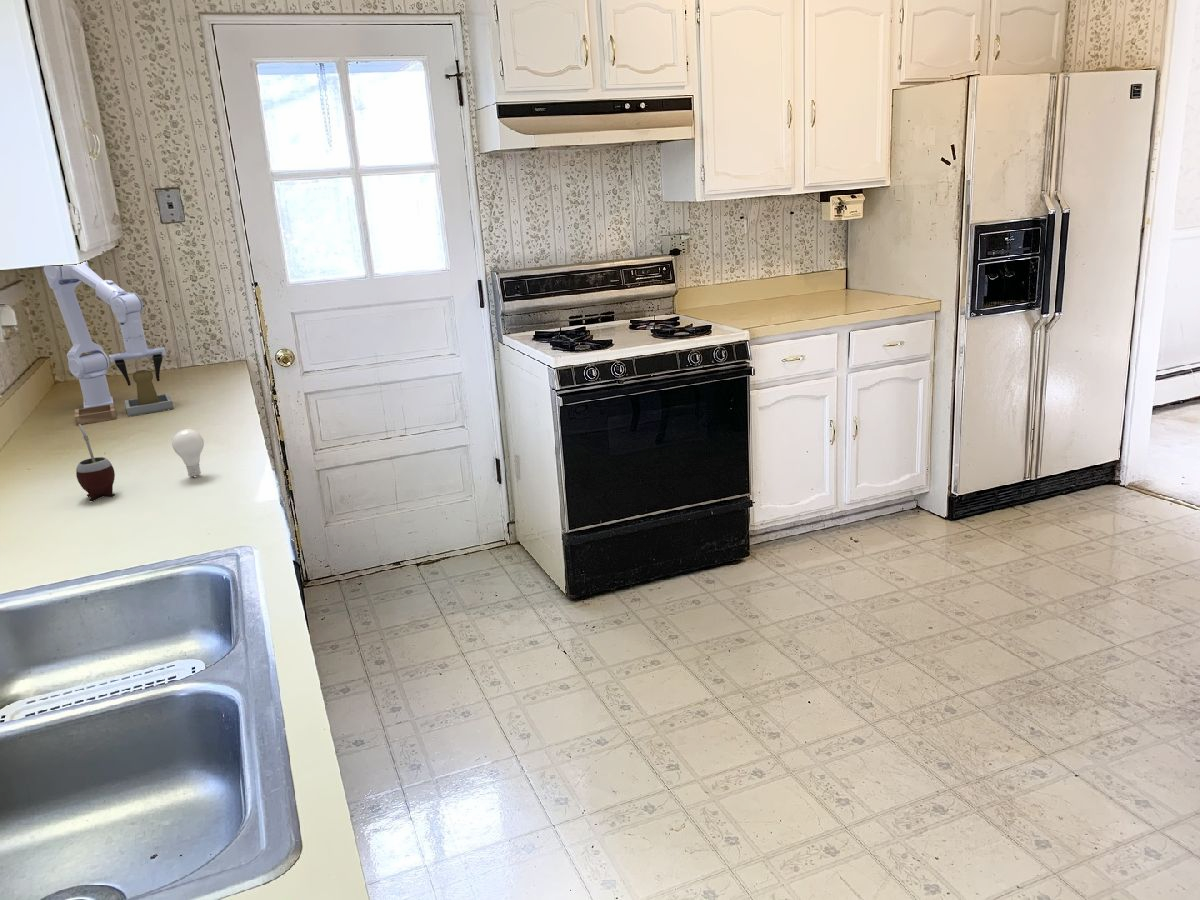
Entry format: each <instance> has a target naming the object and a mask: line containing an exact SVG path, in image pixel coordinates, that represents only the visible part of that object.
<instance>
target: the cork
mask: <svg viewBox="0 0 1200 900" xmlns="http://www.w3.org/2000/svg"><path fill="white" fill-rule="evenodd" d="M132 378H133V381H134V383H136V394H137V398H138V406H140V405H146V404H152V403H159V399H158V396H157V395H158V394H157V391H156V389H155V386H154V383H153V378H154V374H153V372H152V371H151V370H148V369H141V370H140V369H139V370H137V371H135V372H133V374H132Z"/></svg>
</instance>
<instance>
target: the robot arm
mask: <svg viewBox="0 0 1200 900" xmlns="http://www.w3.org/2000/svg"><path fill="white" fill-rule="evenodd" d="M42 270H43V272H44V275H45V277H46V281H47V283H48V287H49V288H50V289H52V290H53V294H54V297H55V300H56V302H57V305H58V307H59V311H60V313H61V316H62V319H63V322H64V325H65V327H66V331H67V334H68V335H69V339H70V341H71V344H72V346H71V348H70V349H69V351H68V352H67V354H66V358H67V360H68V361H67V363H68V366H67V367H68V370H69V371H70V373H71V375H73V376H74V377H75V378H76V379H78V381H79V386H80V389H81V392H82V393H81V395H82V398H83V400H82V401H83V402H82V403H83V408H88V407H94V406H101V405H107V404H114V399H113V398H114V397H113V396H111V393H110V389H109V388H110V387H109V385H108V381H107V380H108V379H107V377H106V376H107V375H106V374H108V369H109V368H110V364H111V363H114V365H116V368H118V369H119V371H120V372H121V374H122V376H123V377H124V379H125V381H126V384H127V386H132V384H131V381H130V378H129V375H128V370H127V365H126V363H125V361H130V360H135V359H136V360H137V359H144V358H149V357H150V358H152V362H153V366H154V372H155V379H156V382H159V381H160V379H161V378H160V372H161V365H162V362H163V356H167V352H166V349H165V347H158V348H148V345H147V340H146V335H145V330H144V326H143V321H142V317H141V312H142V311H143V309H144V305H143V304H144V303H143V300H142V298H141V296H139V295H138V293H136V292H130V291H129V292H127V291H125V290H124V289H123V288H121V287H120V286H119V285H118V284H116V283H114V281H113V280H111V279H110V280H109V279H103V278H102V277H100V276H99V274H97V273H96V272H95V271H93V269H91V268H90V265H89V263H88V260H86V262H83V263H81V264H77V265H63V266H45V265H44V267H43V269H42ZM81 283H83V284H85V285H87V286H89V287H90V288H92V289H93V290H95V291H94V292H95V295H96V296H97V297H98V298H100V299H101V300H102V301H103V302H105V303H107V304H108V305H109V306H110V309H111V311H112V313H113V314H114V316H115V319H116V321H117V323H119V328H120V330H121V335H122V341H123V345H124V349H125V352H119V353H114V354H109V356H108V355H107V354H106V353H105V351H104V349H103V346H101V345H100V344H98V343H96V342H94V341H93V340H92V337H91V334H90V332H89V329H88V325H87V324H86V323H87V322H86V320H85V317H84V314H83V312H82V311H83V310H82V309H81V306H80V304H79V300H78V297H77V294H76V291H75V290H76V288H77V286H78V285H80V284H81Z"/></svg>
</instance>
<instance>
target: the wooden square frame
mask: <svg viewBox="0 0 1200 900" xmlns="http://www.w3.org/2000/svg"><path fill="white" fill-rule="evenodd" d="M116 413H117V412H116V409H115V403H113V404H107V405H101V406H94V407H88V408H84V407H81V408H76V409H74V419H75V423H76V426H78V425H79V424H83V425H86V424H85V423H89V424H93V423H92V422H95V423H101V422H106V420H107V421H111V419H113V420H117V419H116V418H117V414H116ZM100 421H101V422H100Z"/></svg>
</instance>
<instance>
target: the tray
mask: <svg viewBox="0 0 1200 900" xmlns="http://www.w3.org/2000/svg"><path fill="white" fill-rule="evenodd" d="M157 396H158V399H159V403H152V404H146V405H140V406H138V397H137V398H132V399H125V400H124V405H125V409H126V412H127V413H128V414H127V413H126V414H127V417H128V416H131V417H135V416H134V415H137V416H141V415H140V414H143V415H147V414H146V413H149V414H153V413H152V412H155V413H159V412H158V411H161V412H164V411H163V410H167V411H169V410H168V409H173V410H174V405H173V400H172V398H171V396H170V394H169V392H168V393H163V394H157Z"/></svg>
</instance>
